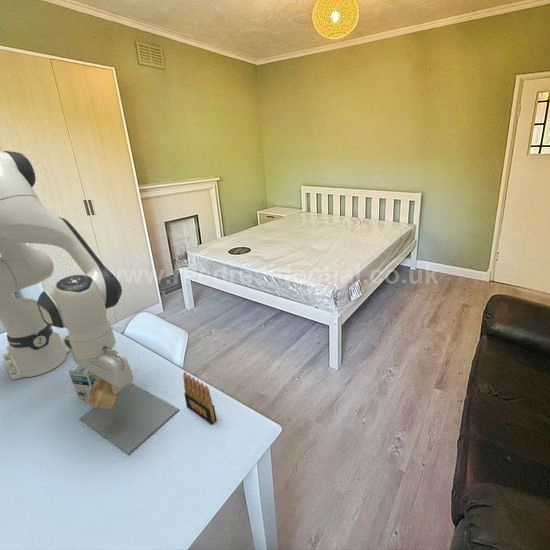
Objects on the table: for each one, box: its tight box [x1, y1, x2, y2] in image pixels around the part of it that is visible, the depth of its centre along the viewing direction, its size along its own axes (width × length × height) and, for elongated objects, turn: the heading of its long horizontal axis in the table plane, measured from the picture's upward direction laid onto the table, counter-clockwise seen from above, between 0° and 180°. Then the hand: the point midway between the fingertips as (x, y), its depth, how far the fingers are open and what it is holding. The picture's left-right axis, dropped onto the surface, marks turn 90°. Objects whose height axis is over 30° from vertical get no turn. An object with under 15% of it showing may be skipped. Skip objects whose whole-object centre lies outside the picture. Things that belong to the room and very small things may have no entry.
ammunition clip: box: [182, 371, 217, 425], centre depth 87 cm, size 11×2×12 cm, turn 51°
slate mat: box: [79, 382, 180, 456], centre depth 90 cm, size 22×16×1 cm
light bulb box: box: [67, 362, 96, 401], centre depth 99 cm, size 11×7×11 cm, turn 168°
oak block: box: [85, 377, 119, 409], centre depth 82 cm, size 4×4×8 cm
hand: (109, 387), depth 83 cm, fingers closed on oak block, 4 cm apart
